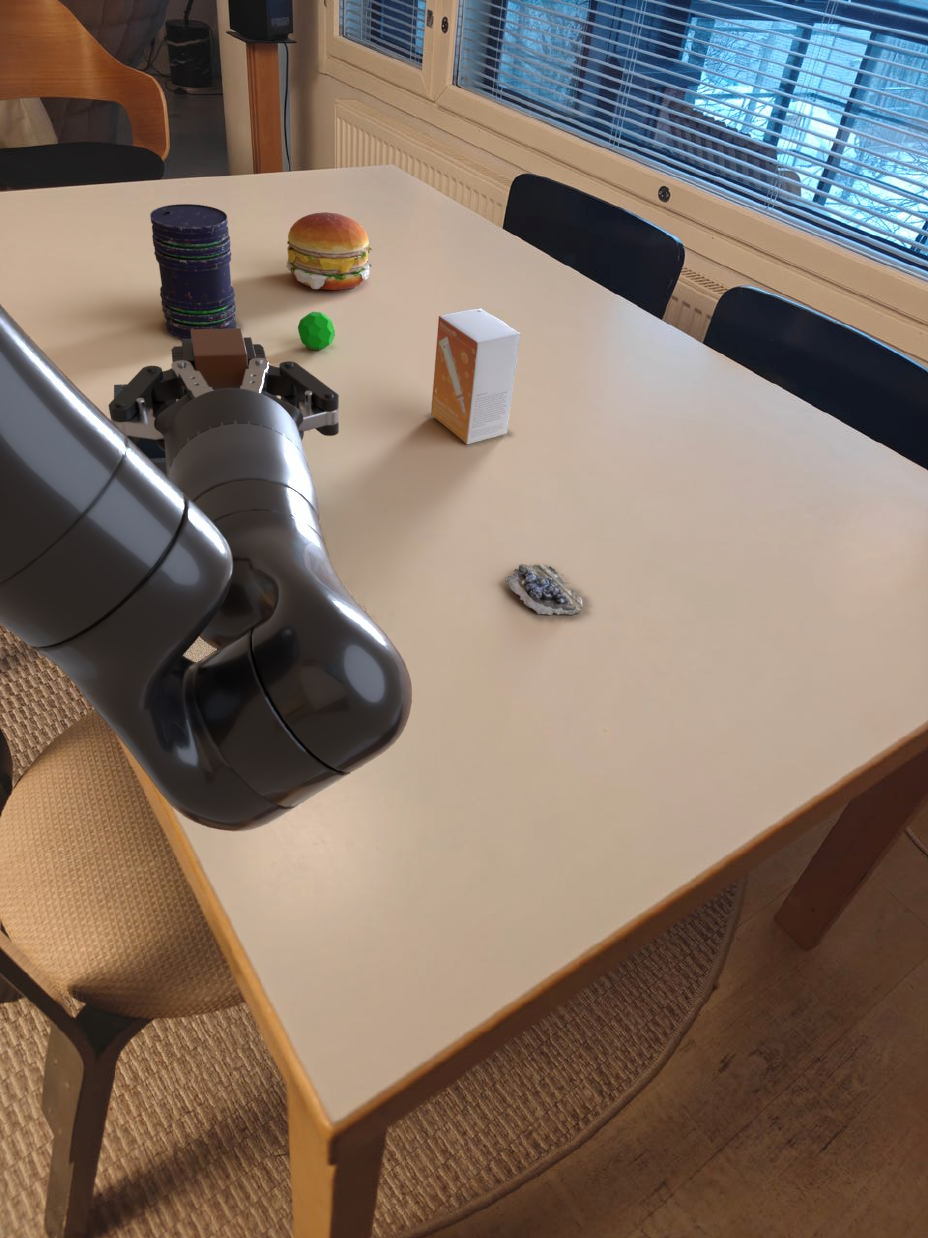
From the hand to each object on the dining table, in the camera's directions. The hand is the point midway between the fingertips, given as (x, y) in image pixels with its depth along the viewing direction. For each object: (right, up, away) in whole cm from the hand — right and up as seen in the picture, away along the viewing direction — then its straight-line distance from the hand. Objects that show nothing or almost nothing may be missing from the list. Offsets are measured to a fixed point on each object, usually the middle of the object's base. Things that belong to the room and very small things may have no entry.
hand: (217, 351), depth 58 cm
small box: (+17, +6, +49) cm, 52 cm away
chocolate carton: (0, -9, +4) cm, 10 cm away
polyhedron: (-4, +20, +62) cm, 65 cm away
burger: (-5, +37, +81) cm, 89 cm away
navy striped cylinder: (-21, +23, +64) cm, 71 cm away
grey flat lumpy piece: (+25, -16, +25) cm, 39 cm away
